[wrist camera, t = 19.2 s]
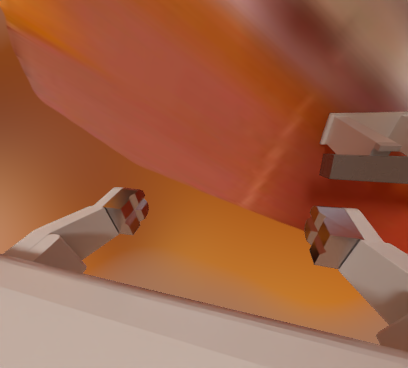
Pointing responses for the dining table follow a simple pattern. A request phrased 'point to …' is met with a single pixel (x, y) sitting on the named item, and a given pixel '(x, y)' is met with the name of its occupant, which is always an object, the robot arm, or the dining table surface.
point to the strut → (365, 168)
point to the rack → (367, 133)
